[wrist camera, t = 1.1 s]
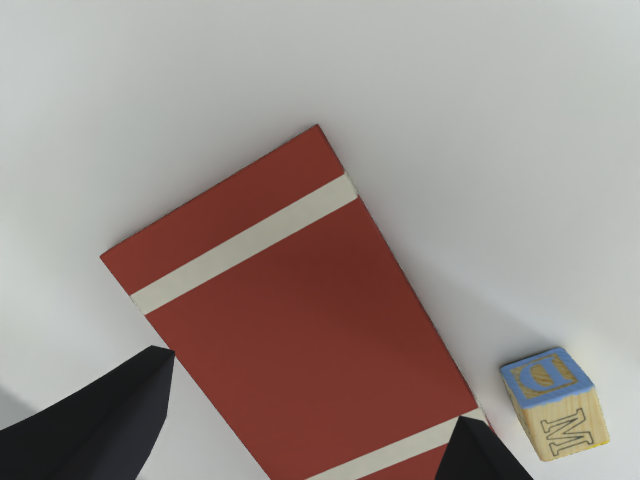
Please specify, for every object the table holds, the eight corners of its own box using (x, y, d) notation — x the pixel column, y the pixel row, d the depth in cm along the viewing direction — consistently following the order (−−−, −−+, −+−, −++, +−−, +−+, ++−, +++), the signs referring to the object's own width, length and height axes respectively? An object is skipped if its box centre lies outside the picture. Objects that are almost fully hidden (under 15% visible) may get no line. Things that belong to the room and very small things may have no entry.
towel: (501, 442, 23) (507, 458, 22) (312, 516, 26) (310, 533, 25) (318, 123, 19) (316, 125, 18) (109, 248, 21) (97, 257, 20)
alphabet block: (563, 344, 21) (597, 385, 18) (580, 397, 22) (615, 445, 19) (497, 365, 22) (519, 408, 19) (516, 416, 23) (540, 465, 20)
